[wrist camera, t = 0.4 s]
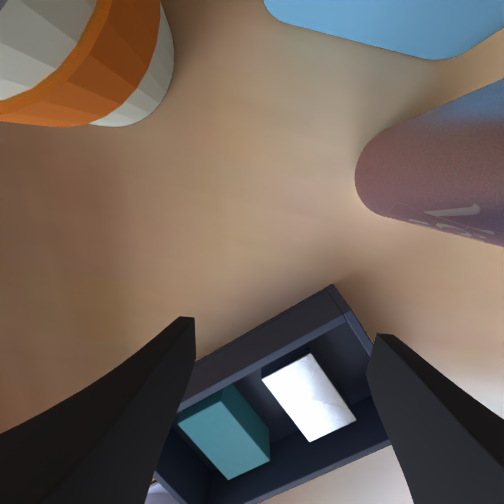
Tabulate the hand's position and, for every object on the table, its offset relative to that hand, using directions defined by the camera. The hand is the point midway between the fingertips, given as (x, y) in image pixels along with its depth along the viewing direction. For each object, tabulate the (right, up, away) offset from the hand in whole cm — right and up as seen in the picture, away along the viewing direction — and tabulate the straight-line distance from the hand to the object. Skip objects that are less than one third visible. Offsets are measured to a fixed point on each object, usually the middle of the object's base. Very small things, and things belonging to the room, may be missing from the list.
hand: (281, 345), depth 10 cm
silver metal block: (+3, -7, +12) cm, 14 cm away
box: (0, -8, +13) cm, 15 cm away
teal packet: (-3, -11, +13) cm, 17 cm away
